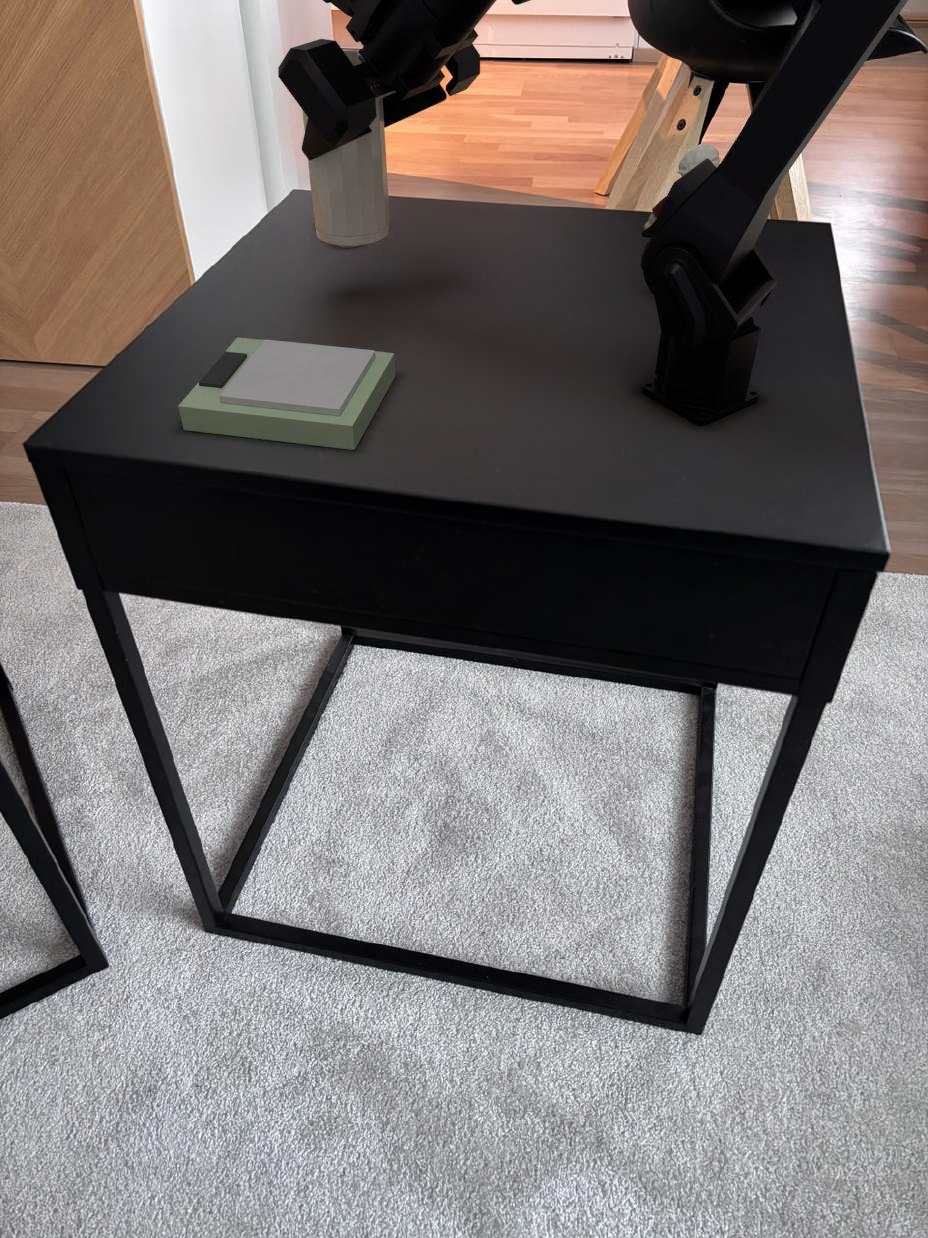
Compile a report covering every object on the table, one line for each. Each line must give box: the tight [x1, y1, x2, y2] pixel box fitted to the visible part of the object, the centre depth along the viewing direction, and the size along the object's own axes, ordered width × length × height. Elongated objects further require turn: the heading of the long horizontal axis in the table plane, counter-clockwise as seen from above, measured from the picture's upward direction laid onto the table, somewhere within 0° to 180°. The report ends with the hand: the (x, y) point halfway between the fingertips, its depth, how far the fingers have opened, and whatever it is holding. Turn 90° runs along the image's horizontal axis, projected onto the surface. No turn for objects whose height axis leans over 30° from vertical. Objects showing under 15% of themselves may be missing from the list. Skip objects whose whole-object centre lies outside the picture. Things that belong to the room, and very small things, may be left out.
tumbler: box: [301, 48, 391, 247], centre depth 76 cm, size 6×6×13 cm
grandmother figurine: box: [643, 143, 721, 231], centre depth 81 cm, size 8×4×13 cm, turn 84°
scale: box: [177, 337, 396, 451], centre depth 71 cm, size 13×11×3 cm
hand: (332, 143), depth 76 cm, fingers closed on tumbler, 6 cm apart
